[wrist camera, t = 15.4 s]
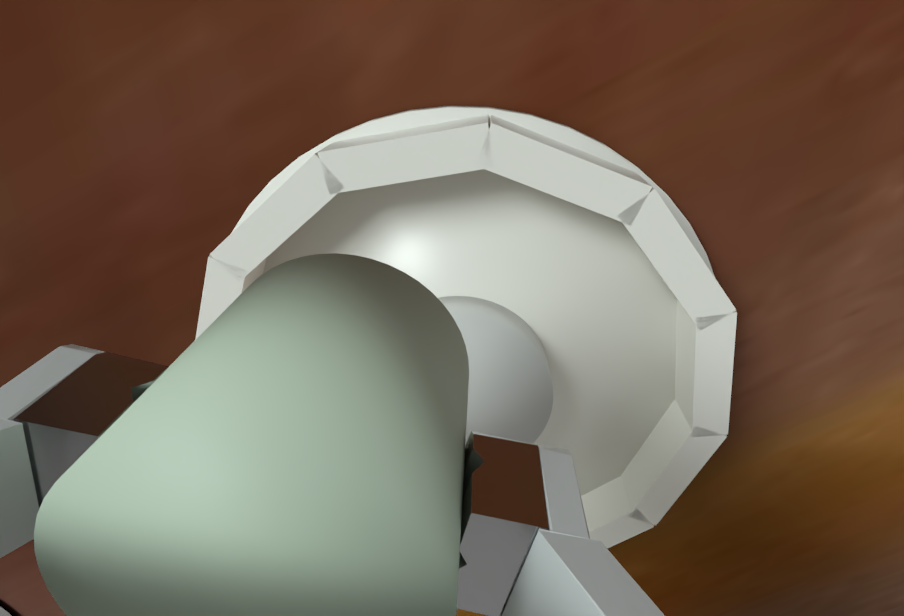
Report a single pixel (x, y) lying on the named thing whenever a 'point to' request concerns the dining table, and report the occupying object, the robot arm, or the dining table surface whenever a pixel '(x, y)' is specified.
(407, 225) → the groove tray
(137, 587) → the sage bead
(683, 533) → the dining table surface
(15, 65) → the dining table surface
